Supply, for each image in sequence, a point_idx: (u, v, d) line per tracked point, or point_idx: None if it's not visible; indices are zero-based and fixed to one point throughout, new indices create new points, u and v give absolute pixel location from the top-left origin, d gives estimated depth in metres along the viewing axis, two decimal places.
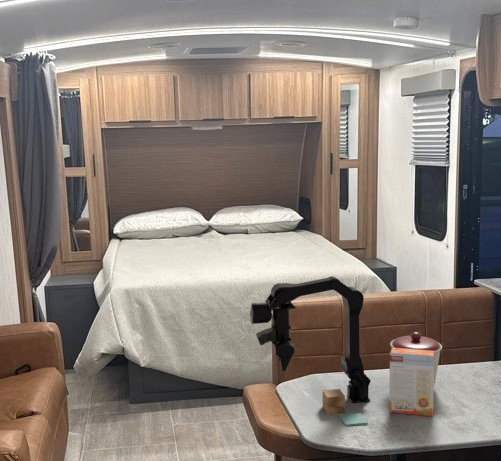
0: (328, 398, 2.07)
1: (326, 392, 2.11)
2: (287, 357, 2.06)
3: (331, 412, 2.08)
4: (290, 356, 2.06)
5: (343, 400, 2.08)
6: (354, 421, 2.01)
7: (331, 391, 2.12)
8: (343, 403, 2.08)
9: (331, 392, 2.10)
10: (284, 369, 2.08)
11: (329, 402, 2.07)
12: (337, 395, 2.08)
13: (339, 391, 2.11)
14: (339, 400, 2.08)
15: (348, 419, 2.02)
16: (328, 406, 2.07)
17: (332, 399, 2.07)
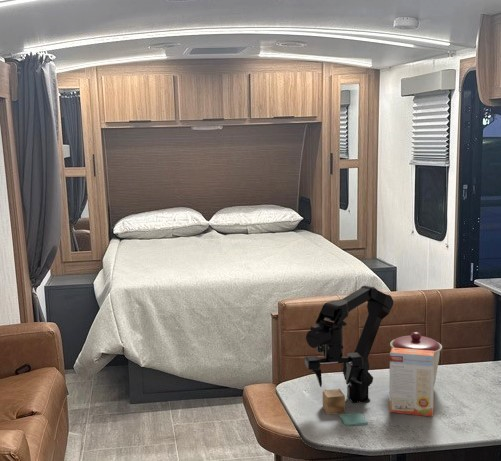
0: (328, 398, 2.07)
1: (326, 392, 2.11)
2: None
3: (331, 412, 2.08)
4: (316, 373, 2.06)
5: (343, 400, 2.08)
6: (354, 421, 2.01)
7: (331, 391, 2.12)
8: (343, 403, 2.08)
9: (331, 392, 2.10)
10: (320, 385, 2.09)
11: (329, 402, 2.07)
12: (337, 395, 2.08)
13: (339, 391, 2.11)
14: (339, 400, 2.08)
15: (348, 419, 2.02)
16: (328, 406, 2.07)
17: (332, 399, 2.07)
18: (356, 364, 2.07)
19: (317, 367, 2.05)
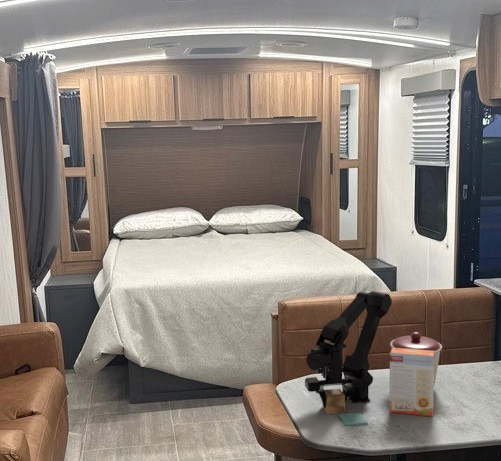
0: (328, 398, 2.07)
1: (326, 392, 2.11)
2: None
3: (331, 412, 2.08)
4: None
5: (343, 400, 2.08)
6: (354, 421, 2.01)
7: (331, 391, 2.12)
8: (343, 403, 2.08)
9: (331, 392, 2.10)
10: (324, 406, 2.10)
11: (329, 402, 2.07)
12: (337, 395, 2.08)
13: (339, 391, 2.11)
14: (339, 400, 2.08)
15: (348, 419, 2.02)
16: (328, 406, 2.07)
17: (332, 399, 2.07)
18: (356, 386, 2.08)
19: (317, 389, 2.06)
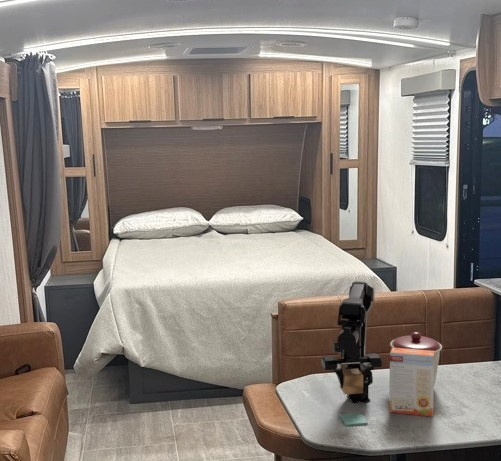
0: (345, 377, 1.98)
1: (343, 371, 2.02)
2: None
3: (349, 392, 1.99)
4: (337, 373, 1.98)
5: (361, 379, 1.98)
6: (354, 421, 2.01)
7: (349, 370, 2.02)
8: (361, 382, 1.99)
9: (349, 371, 2.01)
10: (341, 386, 2.01)
11: (347, 381, 1.98)
12: (355, 374, 1.99)
13: (357, 370, 2.02)
14: (357, 379, 1.98)
15: (348, 419, 2.02)
16: (345, 385, 1.98)
17: (350, 378, 1.98)
18: (375, 365, 1.98)
19: (334, 367, 1.97)
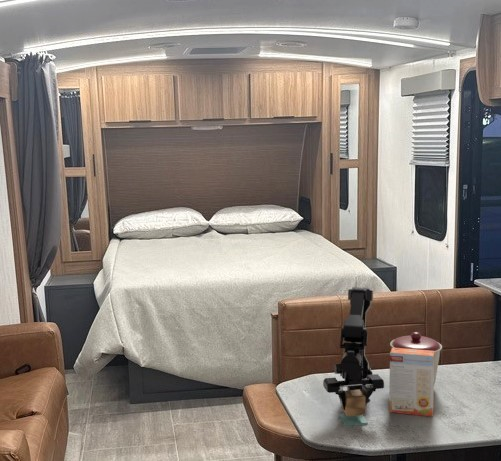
0: (348, 399, 1.98)
1: (345, 393, 2.02)
2: None
3: (351, 414, 1.99)
4: (340, 396, 1.99)
5: (363, 401, 1.99)
6: (354, 421, 2.01)
7: (351, 392, 2.03)
8: (363, 404, 1.99)
9: (351, 393, 2.02)
10: None
11: (349, 403, 1.98)
12: (357, 396, 1.99)
13: (359, 392, 2.03)
14: (359, 401, 1.99)
15: (348, 419, 2.02)
16: (348, 407, 1.99)
17: (352, 400, 1.98)
18: (377, 387, 1.99)
19: (337, 390, 1.97)
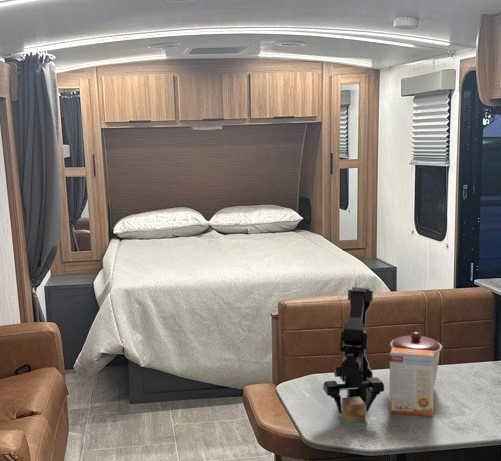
0: (348, 406, 1.99)
1: (345, 400, 2.02)
2: None
3: (351, 421, 1.99)
4: (335, 399, 1.99)
5: (364, 408, 1.99)
6: None
7: (351, 399, 2.03)
8: (364, 411, 2.00)
9: (351, 400, 2.02)
10: (339, 411, 2.02)
11: (349, 410, 1.99)
12: (357, 403, 2.00)
13: (359, 399, 2.03)
14: (359, 408, 1.99)
15: None
16: (348, 415, 1.99)
17: (352, 407, 1.99)
18: (377, 390, 1.99)
19: (337, 393, 1.97)
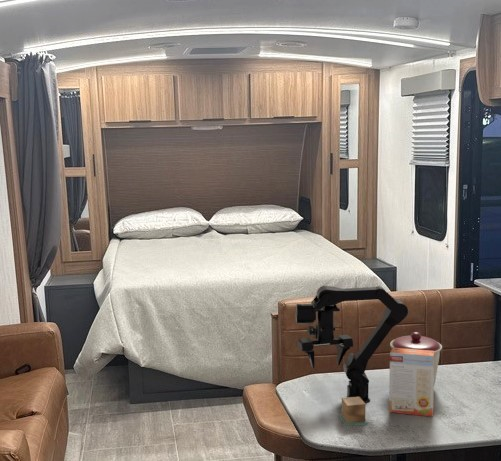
0: (348, 406, 1.99)
1: (345, 400, 2.02)
2: None
3: (351, 421, 1.99)
4: (309, 354, 2.13)
5: (364, 408, 1.99)
6: None
7: (351, 399, 2.03)
8: (364, 411, 2.00)
9: (351, 400, 2.02)
10: (312, 366, 2.16)
11: (349, 410, 1.99)
12: (357, 403, 2.00)
13: (359, 399, 2.03)
14: (359, 408, 1.99)
15: None
16: (348, 415, 1.99)
17: (352, 407, 1.99)
18: (347, 345, 2.15)
19: (310, 349, 2.12)
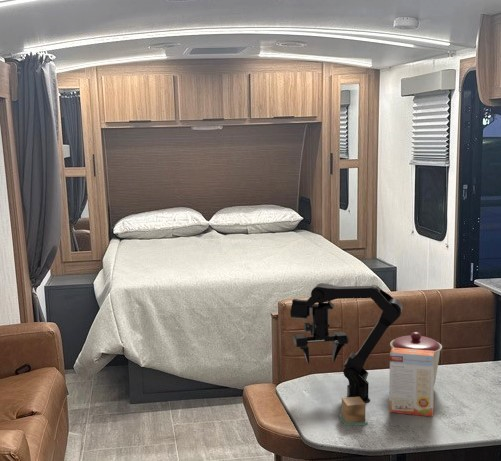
0: (348, 406, 1.99)
1: (345, 400, 2.02)
2: None
3: (351, 421, 1.99)
4: (304, 350, 2.18)
5: (364, 408, 1.99)
6: None
7: (351, 399, 2.03)
8: (364, 411, 2.00)
9: (351, 400, 2.02)
10: (307, 362, 2.21)
11: (349, 410, 1.99)
12: (357, 403, 2.00)
13: (359, 399, 2.03)
14: (359, 408, 1.99)
15: None
16: (348, 415, 1.99)
17: (352, 407, 1.99)
18: (342, 342, 2.19)
19: (305, 344, 2.17)
